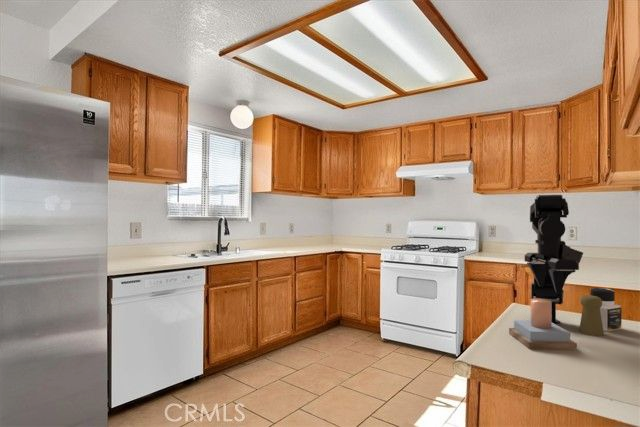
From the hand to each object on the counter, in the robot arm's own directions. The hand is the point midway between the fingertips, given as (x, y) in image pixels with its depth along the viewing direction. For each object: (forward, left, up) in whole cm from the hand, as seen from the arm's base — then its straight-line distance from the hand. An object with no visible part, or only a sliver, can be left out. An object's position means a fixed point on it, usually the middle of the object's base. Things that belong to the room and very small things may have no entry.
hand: (549, 289), depth 110 cm
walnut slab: (+7, -6, -14) cm, 17 cm away
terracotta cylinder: (+7, -6, -9) cm, 13 cm away
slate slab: (+7, -6, -11) cm, 15 cm away
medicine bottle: (-8, +20, -13) cm, 25 cm away
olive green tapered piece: (-2, +13, -13) cm, 19 cm away
